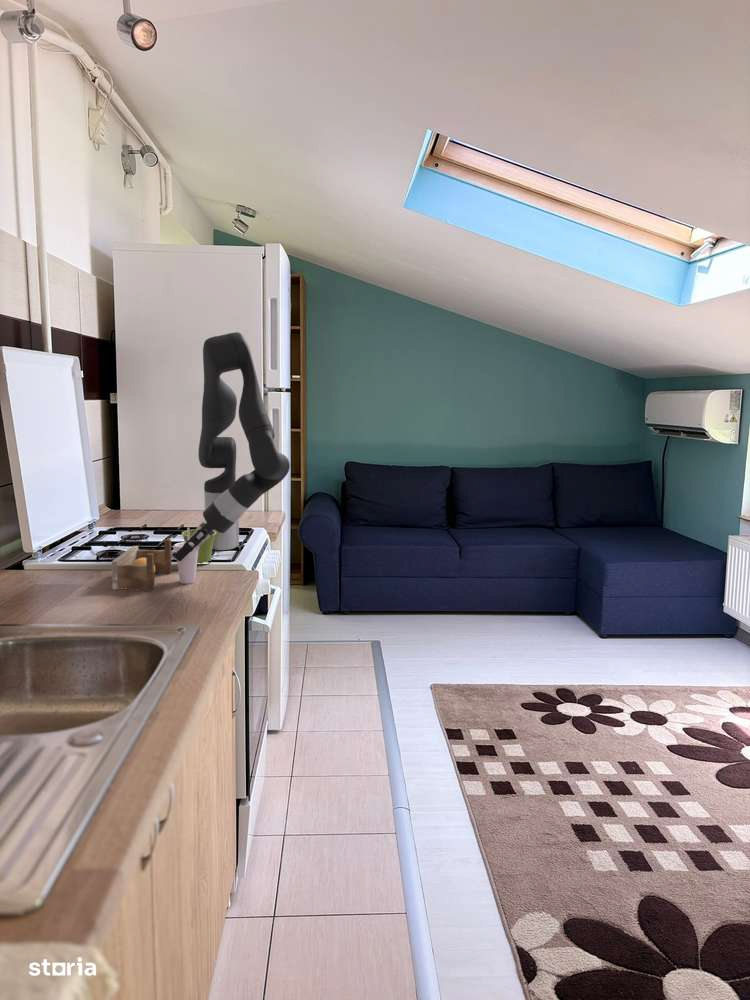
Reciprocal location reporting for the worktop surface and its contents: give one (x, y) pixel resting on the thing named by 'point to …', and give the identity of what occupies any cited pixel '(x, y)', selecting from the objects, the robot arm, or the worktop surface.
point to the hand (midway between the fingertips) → (180, 555)
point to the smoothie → (187, 562)
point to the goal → (141, 567)
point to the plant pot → (202, 547)
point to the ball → (141, 562)
